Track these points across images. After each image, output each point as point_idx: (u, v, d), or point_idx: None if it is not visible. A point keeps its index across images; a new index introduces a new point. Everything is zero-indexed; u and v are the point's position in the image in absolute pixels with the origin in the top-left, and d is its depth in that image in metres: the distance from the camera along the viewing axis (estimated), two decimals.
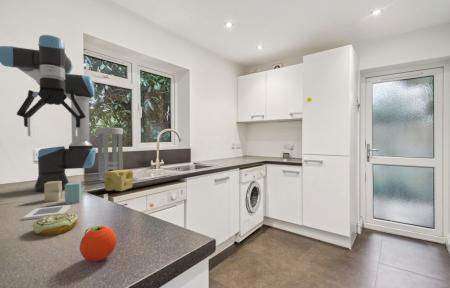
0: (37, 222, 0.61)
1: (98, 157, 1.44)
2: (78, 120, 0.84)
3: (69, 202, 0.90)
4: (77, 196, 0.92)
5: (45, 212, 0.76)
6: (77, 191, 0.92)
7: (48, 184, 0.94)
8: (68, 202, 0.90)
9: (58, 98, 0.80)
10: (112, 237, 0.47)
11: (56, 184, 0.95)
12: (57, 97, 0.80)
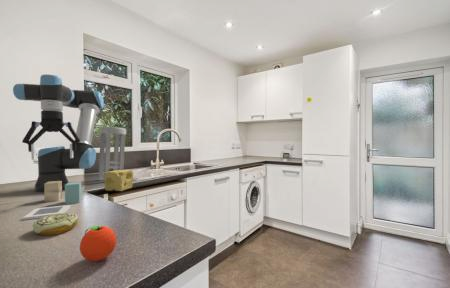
0: (37, 222, 0.61)
1: (100, 156, 1.45)
2: (74, 144, 0.99)
3: (69, 202, 0.90)
4: (77, 196, 0.92)
5: (45, 212, 0.76)
6: (77, 191, 0.92)
7: (48, 184, 0.94)
8: (68, 202, 0.90)
9: (57, 127, 0.95)
10: (112, 237, 0.47)
11: (56, 184, 0.95)
12: (56, 126, 0.95)
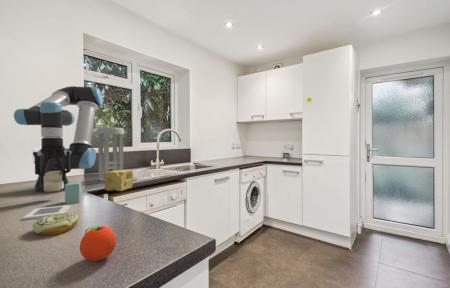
0: (37, 222, 0.61)
1: None
2: (64, 175, 0.98)
3: (69, 202, 0.90)
4: (77, 196, 0.92)
5: (45, 212, 0.76)
6: (77, 191, 0.92)
7: (48, 174, 0.94)
8: (68, 202, 0.90)
9: (56, 154, 0.96)
10: (112, 237, 0.47)
11: (56, 174, 0.96)
12: (55, 153, 0.96)
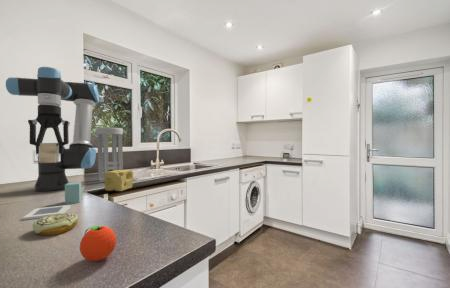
0: (37, 222, 0.61)
1: (98, 157, 1.44)
2: (61, 146, 0.90)
3: (69, 202, 0.90)
4: (77, 196, 0.92)
5: (45, 212, 0.76)
6: (77, 191, 0.92)
7: (44, 144, 0.87)
8: (68, 202, 0.90)
9: (53, 123, 0.89)
10: (112, 237, 0.47)
11: (53, 144, 0.88)
12: (52, 122, 0.88)
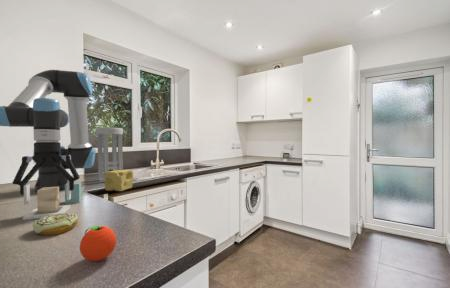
0: (37, 222, 0.61)
1: (98, 157, 1.44)
2: (72, 183, 0.81)
3: (69, 202, 0.90)
4: (77, 196, 0.92)
5: (45, 212, 0.76)
6: (77, 191, 0.92)
7: (42, 191, 0.76)
8: (68, 202, 0.90)
9: (53, 161, 0.78)
10: (112, 237, 0.47)
11: (52, 191, 0.77)
12: (52, 161, 0.78)
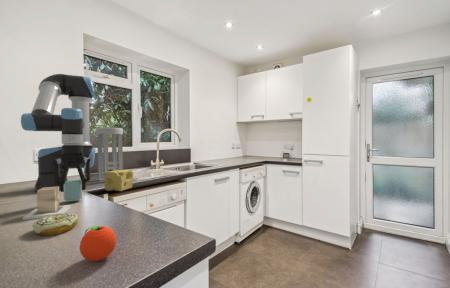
0: (37, 222, 0.61)
1: (98, 157, 1.44)
2: (84, 183, 0.94)
3: (69, 199, 0.91)
4: (77, 193, 0.92)
5: (45, 212, 0.76)
6: (77, 188, 0.92)
7: (42, 191, 0.76)
8: (68, 199, 0.91)
9: (76, 162, 0.92)
10: (112, 237, 0.47)
11: (52, 191, 0.77)
12: (76, 161, 0.92)
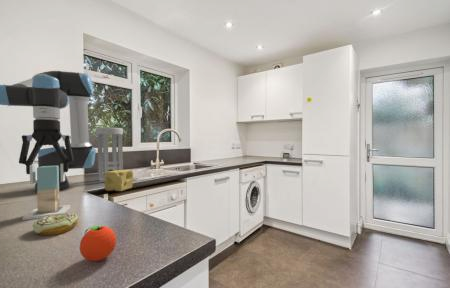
0: (37, 222, 0.61)
1: (98, 157, 1.44)
2: (66, 164, 0.80)
3: (42, 188, 0.76)
4: (52, 181, 0.77)
5: (45, 212, 0.76)
6: (52, 175, 0.77)
7: (42, 191, 0.76)
8: (41, 188, 0.76)
9: (52, 140, 0.78)
10: (112, 237, 0.47)
11: (52, 191, 0.77)
12: (51, 139, 0.77)
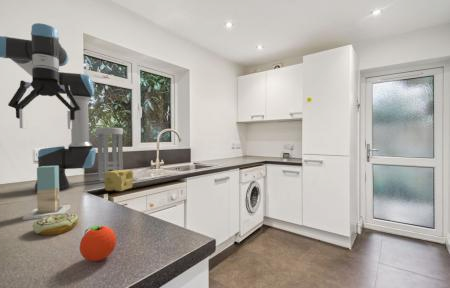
0: (37, 222, 0.61)
1: (98, 157, 1.44)
2: (72, 112, 0.81)
3: (42, 188, 0.76)
4: (52, 181, 0.77)
5: (45, 212, 0.76)
6: (52, 175, 0.77)
7: (42, 191, 0.76)
8: (41, 188, 0.76)
9: (51, 89, 0.77)
10: (112, 237, 0.47)
11: (52, 191, 0.77)
12: (50, 88, 0.77)
